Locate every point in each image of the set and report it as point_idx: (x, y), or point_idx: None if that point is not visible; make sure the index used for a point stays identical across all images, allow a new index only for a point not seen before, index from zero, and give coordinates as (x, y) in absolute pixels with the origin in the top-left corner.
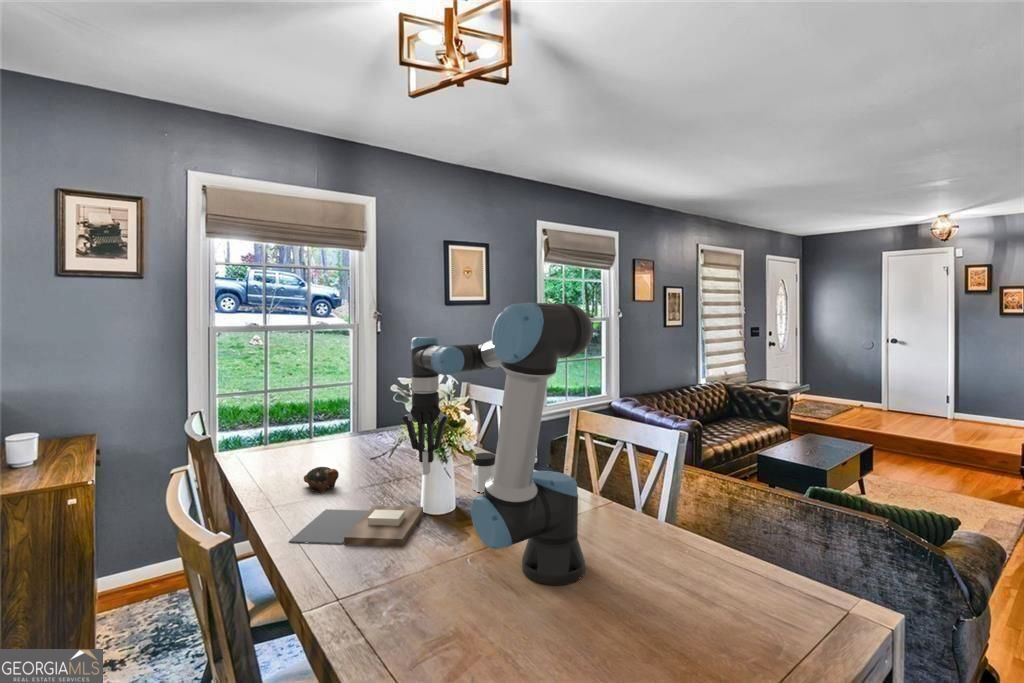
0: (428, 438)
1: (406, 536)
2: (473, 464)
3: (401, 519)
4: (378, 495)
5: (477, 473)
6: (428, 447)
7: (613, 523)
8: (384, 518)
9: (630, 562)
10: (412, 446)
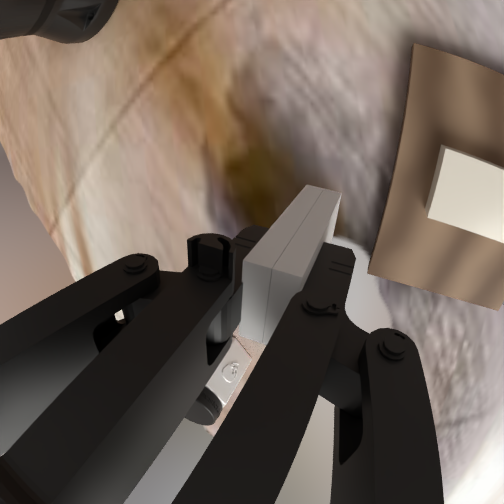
0: (134, 373)
1: (408, 84)
2: (220, 399)
3: (435, 175)
4: (462, 381)
5: (216, 372)
6: (209, 293)
7: (36, 162)
8: (489, 164)
9: (26, 49)
10: (414, 361)
